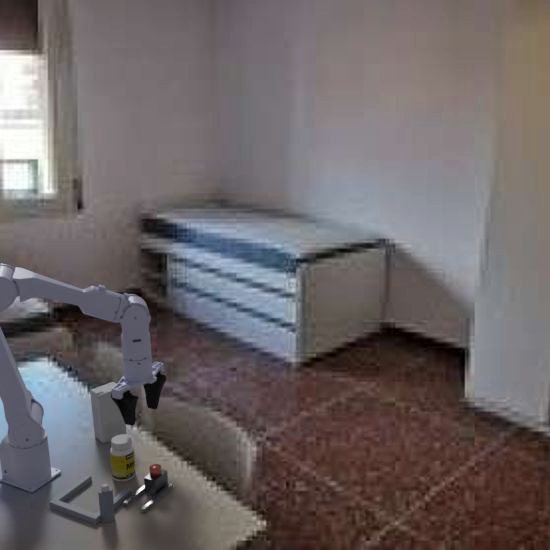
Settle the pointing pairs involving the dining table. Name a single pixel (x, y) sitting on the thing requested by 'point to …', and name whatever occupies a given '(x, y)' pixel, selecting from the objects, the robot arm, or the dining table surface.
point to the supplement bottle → (122, 458)
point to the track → (152, 501)
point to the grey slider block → (155, 480)
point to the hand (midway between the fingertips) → (141, 416)
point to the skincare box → (106, 414)
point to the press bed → (105, 502)
